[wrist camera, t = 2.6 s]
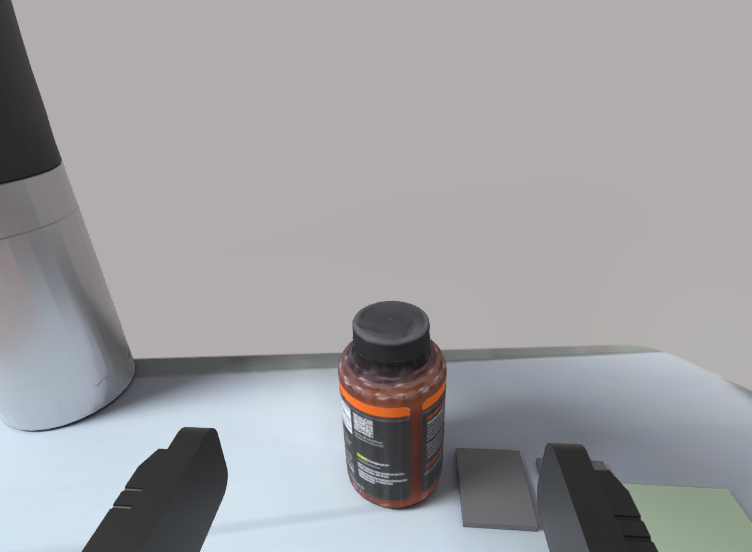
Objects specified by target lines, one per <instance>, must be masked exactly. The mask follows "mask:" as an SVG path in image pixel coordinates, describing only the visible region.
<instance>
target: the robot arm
mask: <svg viewBox="0 0 752 552" xmlns="http://www.w3.org/2000/svg"><path fill="white" fill-rule="evenodd" d="M134 373H135V363H134V360H133V358H132V355H131V352H130V349H129V347H128V344H127V341H126V338H125V335H124V332H123V330H122V326H121V323H120V320H119V318H118V315H117V312H116V309H115V306H114V304H113V301H112V298H111V295H110V292H109V290H108V287H107V284H106V281H105V279H104V276H103V273H102V270H101V267H100V265H99V262H98V259H97V256H96V253H95V251H94V248H93V245H92V243H91V239H90V237H89V234H88V231H87V228H86V226H85V223H84V220H83V217H82V214H81V212H80V209H79V206H78V204H77V201H76V198H75V195H74V192H73V190H72V187H71V184H70V181H69V178H68V176H67V173H66V170H65V167H64V164H63V162H62V159H61V156H60V154H59V151H58V148H57V145H56V143H55V140H54V136H53V133H52V130H51V127H50V124H49V120H48V117H47V113H46V110H45V107H44V104H43V101H42V98H41V95H40V92H39V89H38V86H37V83H36V81H35V78H34V75H33V72H32V69H31V66H30V63H29V59H28V56H27V53H26V50H25V46H24V43H23V40H22V37H21V33H20V30H19V26H18V23H17V19H16V16H15V13H14V9H13V5H12V2H11V0H0V417H1V419H2V421H3V422H4V423H5V424H7V425H8V426H9V427H12V428H15V429H19V430H30V431H34V430H44V429H50V428H54V427H59V426H63V425H66V424H69V423H71V422H74V421H77V420H80V419H82V418H84V417H86V416H88V415H90V414H92V413H94V412H96V411H98V410H99V409H101V408H103V407H104V406H106V405H107V404H109V403H110V402H111V401H113V400H114V399H115V398H117V397H118V396H119V395H120V394H121V393H122V392H123V391H124V390H125V389H126V388H127V386H128V385H129V383H130V382H131V381H132V379H133V376H134ZM227 479H228V471H227V466H226V462H225V459H224V455H223V451H222V448H221V444H220V440H219V436H218V433H217V431H216V429H214V428H196V427H184V428H182V429H181V430H180V431H179V432H178V433H177V435H176V436H175V438H174V440H173V441H172V443H171V444H170V446H169V448H168V449H158V450H157V451H155V452H154V453H153V454H152V455H151V456H150V457H149V458H147V459H146V460H145V461H144V462H143V463H142V464H141V465H139V466H138V468H137V469H136V471H135V472H134V474H133V475H132V477H131V478H130V480H129V481H128V483H127V484H126V486H125V490H124V491H122V492H121V493H120V495H119V496H118V498H117V499H116V501H115V502H114V504H113V508H112V509H110V510H109V511H108V513H107V514H106V516H105V517H104V519H103V520H102V522H101V523H100V525H99V526H98V528H97V529H96V531H95V532H94V534H93V535H92V537H91V538H90V540H89V541H88V543H87V544H86V546H85V547H84V549H83V550H82V552H200V550H201V548H202V545H203V543H204V541H205V538H206V536H207V534H208V531H209V529H210V527H211V524H212V522H213V520H214V518H215V515H216V513H217V511H218V508H219V506H220V504H221V501H222V499H223V496H224V494H225V491H226V486H227ZM537 501H538V509H539V514H540V518H541V521H542V525H543V529H544V533H545V536H546V540H547V544H548V547H549V551H550V552H658V550H657V548H656V546H655V544H654V542H652V541H651V536H650V534H649V532H648V530H647V527H646V525H645V523H644V521H642V520H641V515H640V513H639V511H638V509H637V507H636V505H635V503H634V501H633V499H632V497H631V495H630V492H629V491H628V490H627V489H626V488H625V487H624V486H623V485H622V484H621V482H620V481H619V480H618V479H617V478H616V477H615V476H614V475H613V474H612V473H611V472H610V471H609V470H594V467H593V465H592V463H591V460H590V458H589V456H588V453H587V451H586V449H585V448H584V446H583V445H581V444H560V443H548V444H547V445H546V447H545V452H544V456H543V461H542V466H541V471H540V476H539V481H538V486H537Z"/></svg>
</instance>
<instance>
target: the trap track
mask: <svg viewBox="0 0 752 552" xmlns="http://www.w3.org/2000/svg"><path fill="white" fill-rule="evenodd" d="M456 460H457V470H458V480H459V490H460V500H461V510H462V520H463V527H477V528H493V529H509V530H525V531H537V530H538V524H537V520H536V516H535V512H534V508H533V504H532V500H531V496H530V492H529V488H528V484H527V480H526V476H525V473H524V469H523V465H522V461H521V457H520V453H519V451H508V450H487V449H466V448H456ZM542 461H543V459H541V458H537V460H536V465H537V468H538V472H539V475H540V471H541V466H542ZM591 463H592V465H593V467H594V470H606V468H605V466H604V463H603V462H602V461H591ZM621 484H622V485H623V486H624V487H625V488H626V489H627V490H628V491H629V492H630V495H631V497H632V499H633V501H634V503H635V505H636V507H637V509H638V511H639V513H640V515H641V520H642V521H644V523H645V525H646V527H647V530H648V532H649V534H650V536H651V541H652V542H654V544H655V546H656V548H657V550H658V552H752V522H751V520H750V519H749V518H748V516H747V515H746V513H745V512H744V511H743V509H742V508H741V506H740V505H739V503H738V502H737V501H736V499H735V498H734V496H733V495H732V493H731V492H730V491H729V489H720V488H701V487H682V486H663V485H644V484H625V483H621Z"/></svg>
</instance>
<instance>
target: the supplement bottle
mask: <svg viewBox="0 0 752 552" xmlns="http://www.w3.org/2000/svg"><path fill="white" fill-rule="evenodd" d="M429 329H430V324H429V318H428V316H427V315H426V314H425V312H424V311H422V310H421V309H420V308H419V307H416V306H414V305H412V304H409V303H405V302H399V301H386V302H385V301H384V302H378V303H374V304H371V305H368V306H367V307H365V308H363V309H361V310H360V311H359V312H358V313H357V314H356V316H355V317H354V320H353V341H352V342H351V343H349V345H348V346H347V347H346V348H345V350H344V351H343V353H342V355H341V357H340V360H339V366H338V375H339V385H340V386H339V387H340V397H341V408H342V419H343V428H344V440H345V451H346V462H347V468H348V474H349V478H350V481H351V483H352V485H353V487H354V488H355V490H356V491H357V492H358V493H359V494H360V495H361V496H362V497H364V498H365V499H366V500H368V501H370V502H372V503H373V504H376V505H379V506H383V507H387V508H402V507H407V506H410V505H413V504H416V503H418V502H420V501H422V500H424V499H425V498H426V497H427V496H428V495H429V494H430V493H431V492H432V491H433V490H434V488H435V487H436V485H437V483H438V481H439V478H440V474H441V468H442V458H443V434H444V414H445V395H446V362H445V359H444V356H443V354H442V352H441V350H440V348H439V347H438V346H437V345H436V344H435V343H434V342H433V341H432V340H430V334H429Z"/></svg>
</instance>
